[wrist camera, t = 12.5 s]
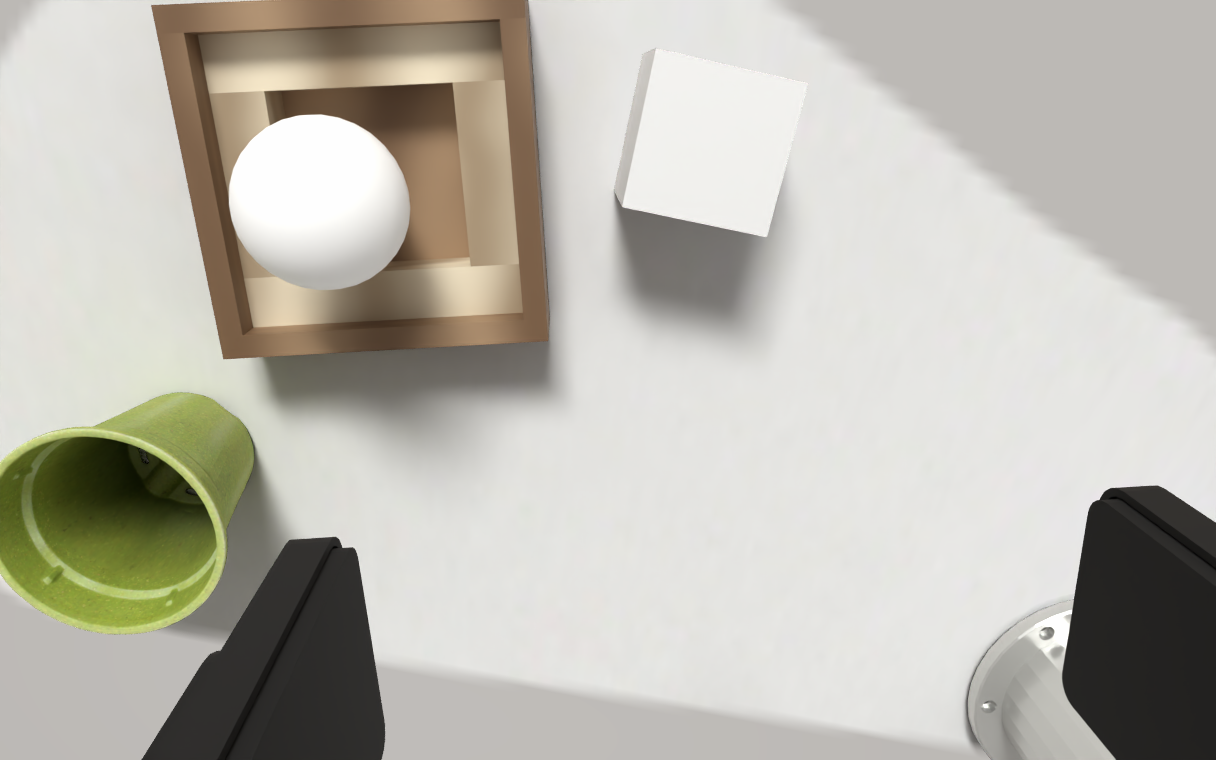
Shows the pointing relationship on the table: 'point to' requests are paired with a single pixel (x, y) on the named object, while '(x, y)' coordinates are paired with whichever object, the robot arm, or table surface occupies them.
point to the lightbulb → (319, 202)
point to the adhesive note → (707, 141)
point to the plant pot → (124, 514)
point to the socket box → (411, 131)
